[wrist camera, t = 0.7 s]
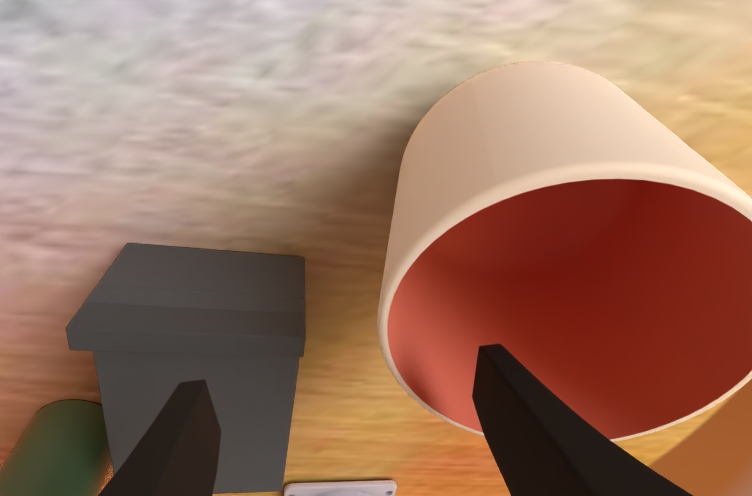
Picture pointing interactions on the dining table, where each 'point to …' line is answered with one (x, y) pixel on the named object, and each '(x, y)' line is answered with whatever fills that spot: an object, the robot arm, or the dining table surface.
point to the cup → (565, 254)
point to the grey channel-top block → (200, 349)
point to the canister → (59, 453)
